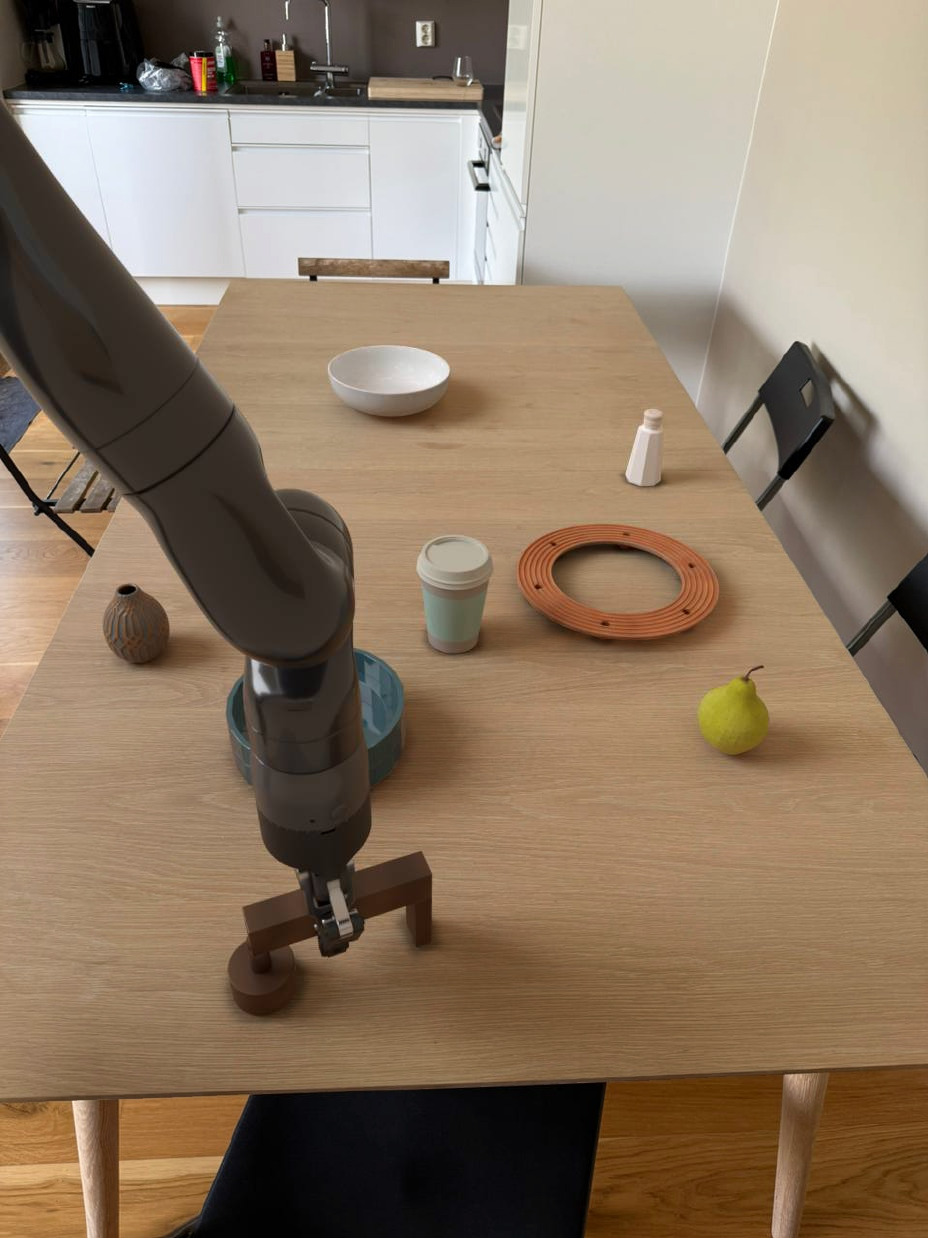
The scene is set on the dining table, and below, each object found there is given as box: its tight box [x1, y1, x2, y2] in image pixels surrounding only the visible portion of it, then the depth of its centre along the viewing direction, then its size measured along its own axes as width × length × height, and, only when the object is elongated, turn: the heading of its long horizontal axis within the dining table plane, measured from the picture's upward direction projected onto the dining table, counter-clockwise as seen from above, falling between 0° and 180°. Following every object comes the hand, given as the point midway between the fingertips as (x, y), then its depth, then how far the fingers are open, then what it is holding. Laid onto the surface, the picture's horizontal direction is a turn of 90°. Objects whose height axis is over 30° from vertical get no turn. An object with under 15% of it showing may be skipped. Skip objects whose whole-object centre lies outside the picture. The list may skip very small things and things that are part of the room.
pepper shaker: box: [625, 408, 665, 488], centre depth 133 cm, size 5×5×11 cm
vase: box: [102, 582, 171, 664], centre depth 98 cm, size 7×7×9 cm
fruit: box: [697, 665, 770, 756], centre depth 88 cm, size 7×7×12 cm
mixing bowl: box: [225, 647, 407, 789], centre depth 89 cm, size 17×17×6 cm
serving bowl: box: [327, 344, 452, 418], centre depth 153 cm, size 21×21×7 cm
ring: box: [515, 523, 720, 641], centre depth 113 cm, size 25×25×2 cm
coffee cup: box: [415, 534, 495, 654], centre depth 101 cm, size 8×8×12 cm
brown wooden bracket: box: [227, 850, 433, 1017], centre depth 69 cm, size 16×5×9 cm, turn 112°
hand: (329, 933), depth 69 cm, fingers closed on brown wooden bracket, 2 cm apart
